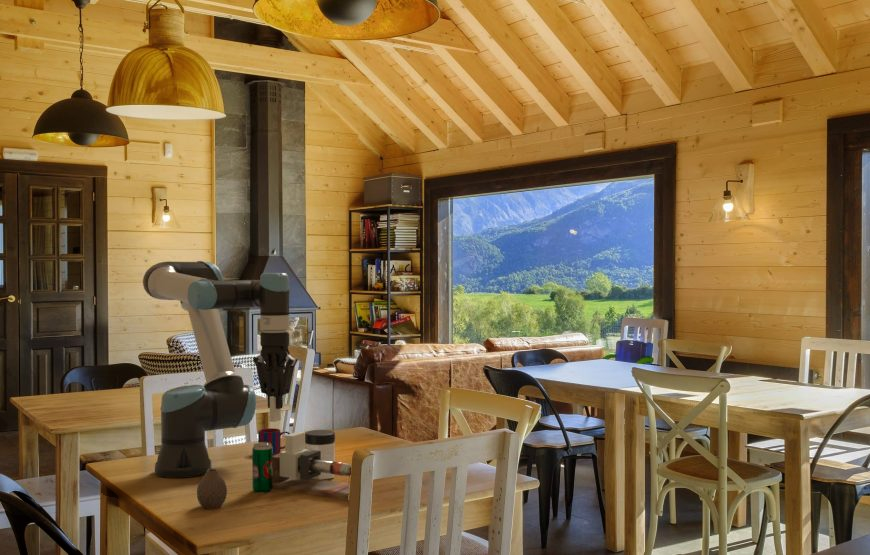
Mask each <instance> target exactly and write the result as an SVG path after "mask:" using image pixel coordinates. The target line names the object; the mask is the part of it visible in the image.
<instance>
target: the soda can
mask: <svg viewBox="0 0 870 555" xmlns="http://www.w3.org/2000/svg"><path fill="white" fill-rule="evenodd" d="M251 452H252V456H251V457H252V460H251V461H252V463H251V464H252V466H251V468H252V473H251V474H252V480H251V481H252V484H251V485H252V491H253V492H254V493H257V494H265V493H266V494H267V493H269V492H271V491H272V490H274V489H273V456H274V454H273V447H272V446H271V443H268V442H260V443H258V442H255V443H253V447H252V451H251Z"/></svg>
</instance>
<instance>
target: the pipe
mask: <svg viewBox="0 0 870 555" xmlns="http://www.w3.org/2000/svg"><path fill="white" fill-rule="evenodd" d="M350 467H351V463H346V462H343V461H342V462H340V461H335V462H331V461H323V460H315V459H309V471H315V472H322V473H329V474H334V476H347V477H350ZM298 469H300V457H298Z"/></svg>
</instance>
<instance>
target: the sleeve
mask: <svg viewBox="0 0 870 555" xmlns="http://www.w3.org/2000/svg"><path fill="white" fill-rule="evenodd" d="M284 436H285V437H284V438H285V439H284V441H285V442H284V446H285V448H284V450H283V451H280V453H279V454H280V476H282V477H289V478H298V477H300V469H298V457H300V455H302V454H305V453H308V452H310V450H308V449H305V432H299V431H295V432H292V433H290V434H285V435H284ZM309 472H310V471H309Z"/></svg>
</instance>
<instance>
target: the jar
mask: <svg viewBox="0 0 870 555" xmlns="http://www.w3.org/2000/svg"><path fill="white" fill-rule="evenodd" d="M335 444H336V432H335V431H334V430H331V429H311V430H308V431H305V432H304V449H308V450H310V452H311V451H314V450H317V451H321V460H323V461H331V462H336V459H335V458H336V445H335ZM310 459H312V458H310ZM334 478H335V475H334V474H329V473H322V472H321V475H319V476H316V477H313V478H312V479H319V480H329V479H334Z"/></svg>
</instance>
